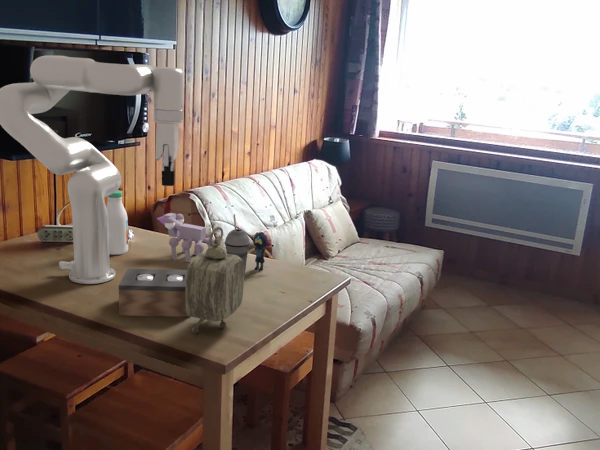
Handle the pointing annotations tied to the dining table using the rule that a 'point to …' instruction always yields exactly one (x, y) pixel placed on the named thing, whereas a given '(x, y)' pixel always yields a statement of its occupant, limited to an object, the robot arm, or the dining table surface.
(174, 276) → the right peg
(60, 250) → the dining table surface
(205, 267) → the tabletop clock
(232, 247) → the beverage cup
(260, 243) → the character figure
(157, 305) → the peg block
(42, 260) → the dining table surface
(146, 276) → the left peg
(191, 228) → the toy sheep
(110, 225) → the milk bottle
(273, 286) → the dining table surface
